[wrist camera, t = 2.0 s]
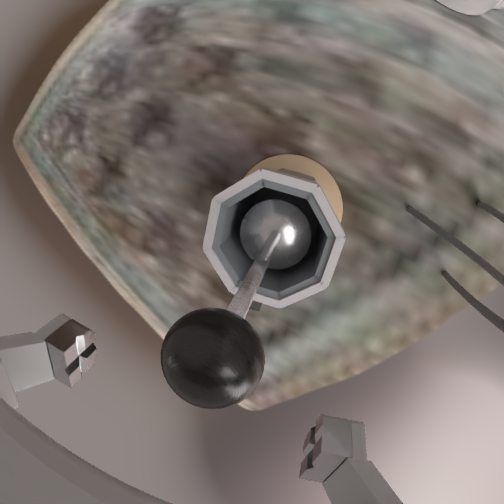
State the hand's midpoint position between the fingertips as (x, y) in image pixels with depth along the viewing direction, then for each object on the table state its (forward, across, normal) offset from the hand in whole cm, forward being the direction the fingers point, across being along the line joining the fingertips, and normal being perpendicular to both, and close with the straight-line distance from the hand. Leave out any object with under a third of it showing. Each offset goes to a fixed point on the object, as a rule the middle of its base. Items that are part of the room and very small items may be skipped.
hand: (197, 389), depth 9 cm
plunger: (+18, 0, 0) cm, 18 cm away
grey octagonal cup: (+30, 0, 0) cm, 30 cm away
